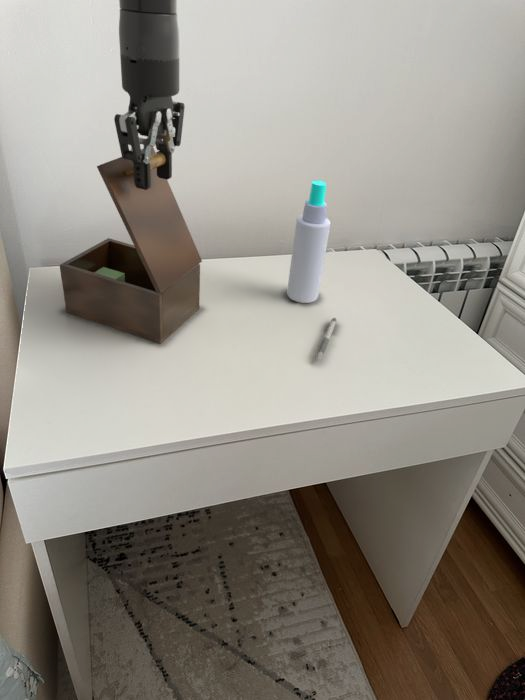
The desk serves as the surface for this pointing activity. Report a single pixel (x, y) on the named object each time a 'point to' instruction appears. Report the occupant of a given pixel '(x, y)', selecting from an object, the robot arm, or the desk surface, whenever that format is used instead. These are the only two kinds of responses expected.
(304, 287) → the spray bottle
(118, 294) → the chest
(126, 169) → the lid
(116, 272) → the block
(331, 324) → the pen
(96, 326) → the desk surface
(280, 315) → the desk surface
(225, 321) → the desk surface
